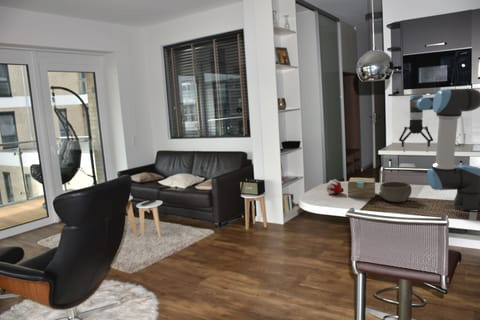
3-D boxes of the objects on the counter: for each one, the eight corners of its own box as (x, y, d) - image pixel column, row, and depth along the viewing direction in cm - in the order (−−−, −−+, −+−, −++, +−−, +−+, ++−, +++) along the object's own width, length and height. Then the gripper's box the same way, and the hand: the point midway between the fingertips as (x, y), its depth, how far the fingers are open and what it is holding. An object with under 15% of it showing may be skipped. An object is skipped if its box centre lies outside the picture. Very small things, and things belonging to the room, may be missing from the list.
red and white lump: (332, 189, 270) (348, 196, 257) (320, 192, 264) (336, 198, 251) (333, 177, 267) (350, 183, 255) (321, 179, 262) (337, 185, 249)
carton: (374, 197, 245) (374, 183, 244) (347, 196, 250) (347, 183, 249) (375, 192, 258) (375, 179, 257) (349, 191, 263) (349, 178, 262)
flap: (373, 189, 237) (373, 183, 236) (347, 188, 242) (347, 182, 242) (374, 181, 257) (374, 176, 256) (350, 181, 262) (350, 175, 262)
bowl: (375, 201, 236) (375, 185, 234) (386, 195, 249) (386, 180, 248) (405, 205, 225) (405, 188, 223) (414, 199, 238) (415, 183, 237)
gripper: (437, 118, 251) (436, 151, 254) (395, 119, 261) (394, 151, 264) (438, 118, 244) (437, 152, 247) (395, 119, 254) (394, 152, 257)
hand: (415, 151), depth 256 cm, fingers open, 13 cm apart
